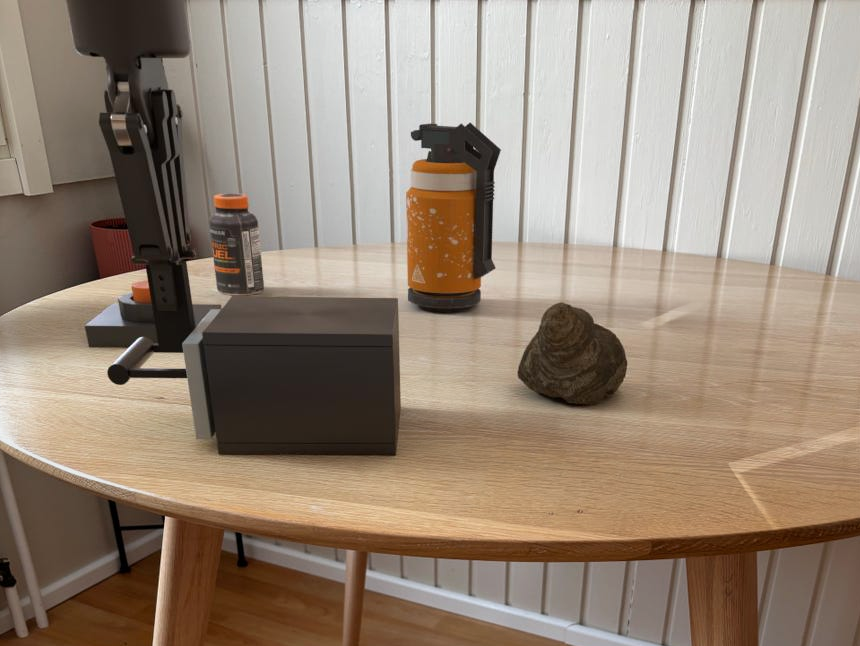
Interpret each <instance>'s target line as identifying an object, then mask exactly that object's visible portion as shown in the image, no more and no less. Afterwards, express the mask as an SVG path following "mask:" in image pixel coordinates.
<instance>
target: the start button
mask: <svg viewBox="0 0 860 646" xmlns="http://www.w3.org/2000/svg"><path fill="white" fill-rule="evenodd" d="M130 286H131V287H130V288H131V293H133V299H134V301H137V302H151V297H150V290H149V284H148V280H140V281H136V282H133V283H132V284H131V285H130Z"/></svg>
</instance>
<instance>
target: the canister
mask: <svg viewBox="0 0 860 646" xmlns="http://www.w3.org/2000/svg"><path fill="white" fill-rule="evenodd" d="M410 137H411V139H412V140H413V141H415V142H418V141H420V147H421V149H428V152H427V157H426V158H423V159H418V160H415V161H414V162H413V163H412V165H411V166H412V167H411V169H410V188H409V189H408V190H407V191H406V192H405V201H406V202H405V207H406V208H405V209H406V213H405V214H406V260H407V261H406V262H407V267H406V268H407V287H408V289H407V301H408V302H409V303H411V304H414V305H417V306H418V307H419V308H421V309H423V310H426V311H432V312H442V313H443V312H444V313H445V312H446V313H448V312H449V313H450V312H451V313H452V312H459V311H465V310H467V309H470V307H472V306H476V305H478V304H480V303H481V300H482V298H481V297H482V294H481V293H482V291H481V289H480V288H481V286H482V278H483V277H485V276H486V275H488V274H489V273H491V272H492V271H494V270H496V265H495V264H494V261H493V255H492V254H493V225H494V224H493V223H494V218H493V217H494V200H495V197H494V196H495V189H494V188H495V183H496V182H495V169H496V166H497V163H498V160H499V157H500V155H501V151H502V148H500V147H499V146H497V144H496V143H494V142H493V141H492V139H490V138H488V137H487V135H486V134H484V133H483V132H482V131H481V130H479V128H477V126H475V125H474V123H472V122H468V123H467V124H466V125H464V124H463V123H460V124H458V125H457V126H449V125H438V124H437V123H422V124H419V126H418V129H414V130H412V131H410ZM429 149H430V150H429Z"/></svg>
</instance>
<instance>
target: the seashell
mask: <svg viewBox="0 0 860 646" xmlns="http://www.w3.org/2000/svg"><path fill="white" fill-rule="evenodd" d="M517 369H518V370H517V378H518V379H519V380H520V381H521V382H522V383H524V385H525V386H526V387H527V388H528V389H529V390H530V391H533V392H536V393H540V394H543V395H545V396H548V397H550V398H552V399H553V398H562V399H563V400H565V402H567V404H568V403H569V404H577V405H578V404H579V405H580V404H584V405H588V406H589V405H590V406H591V405H597V404H598V403H599V402H601V401H603V400H604V398H605V397H606V396H612V395H614V394H615V393H617V391H618V390H619V388H620V387H621V385H622V384H623V383H624V380H625V378H626V375H627V370H628V359H627V355H626V349H625V348H624V345H623V344H622V342H621V340H620V339H619V338H618V337H617V335H616V334H615V333H614V332H613V331H612V330H610V329H608V328H606V327H604V326H602V325H600V324H598V323H596V322H595V321H594V317H593V316H592V315H591V314H590V313H589V311H586V309H585V310H584V309H583V308H581V307H575V306H572V305H571V304H569V303H565V302H557V303H555V304H553V305H551V306H550V307H548V308H547V309H546V311H544V313H543V314H542V317H541V319H540V324H539V326H538V330H537V332H536V333H535V335H534V336H533V337H532V338H531V339H530V341H529V343H528V344H527V346H526V347H525V349H524V351H523V353H522V355H521V358H520V362H519V363H518V368H517Z"/></svg>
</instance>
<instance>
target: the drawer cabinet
mask: <svg viewBox="0 0 860 646" xmlns="http://www.w3.org/2000/svg"><path fill="white" fill-rule="evenodd" d="M399 323H400V319H399V298H398V297H346V296H345V297H342V296H341V297H338V296H336V297H335V296H331V297H330V296H269V295H267V296H266V295H265V296H264V295H263V296H262V295H261V296H260V295H259V296H258V295H257V296H255V295H243V296H235V295H231V297H230V298H229V299H228V300H227V301H226V303H225V304H224V305H223V306H222V309H221V310H220V311H219V313H218V314H217V315H216V316H215V317H214V319H213V320H212V321H211V322H210V324H209V325H208V326H207V327H206V329H205V330H204V331H203V332H202V337H203V344H204V351H205V358H206V365H207V373H208V380H209V388H210V395H211V402H212V410H213V417H214V425H215V439H216V447H217V454H218V455H300V456H301V455H304V456H305V455H306V456H307V455H308V456H309V455H310V456H311V455H316V456H319V455H321V456H324V455H325V456H327V455H328V456H336V455H339V456H345V455H346V456H397V448H398V437H399V428H400V418H401V417H400V416H401V407H402V403H401V401H402V400H401V397H402V396H401V365H400V364H401V362H400V361H401V360H400V324H399Z"/></svg>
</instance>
